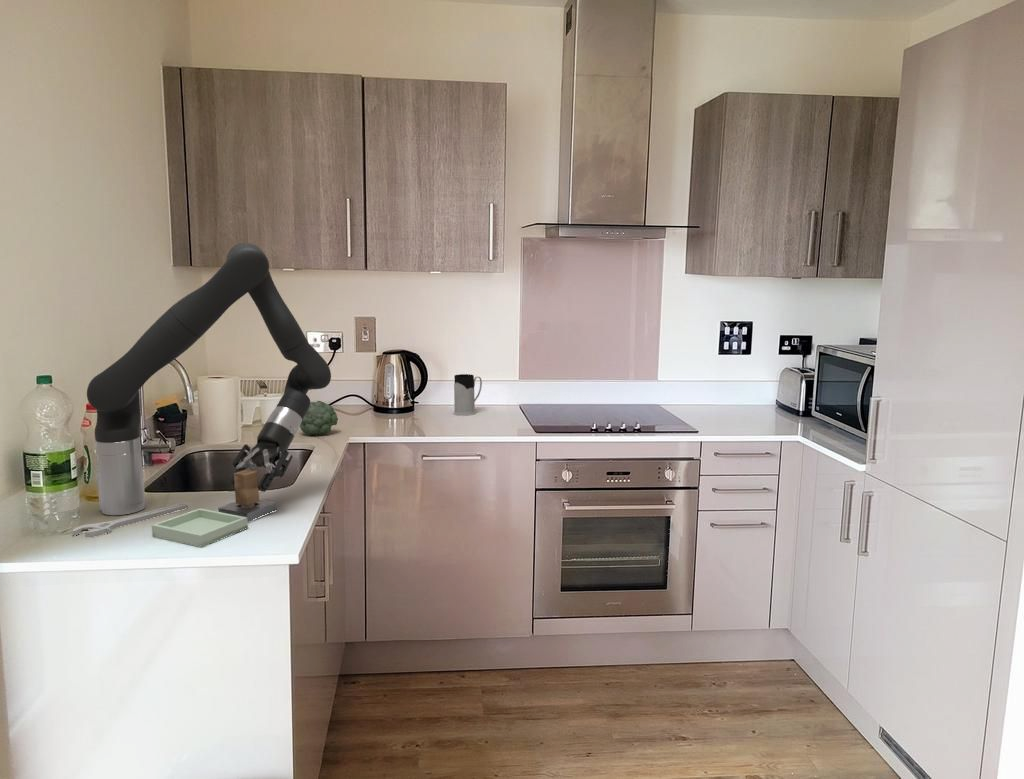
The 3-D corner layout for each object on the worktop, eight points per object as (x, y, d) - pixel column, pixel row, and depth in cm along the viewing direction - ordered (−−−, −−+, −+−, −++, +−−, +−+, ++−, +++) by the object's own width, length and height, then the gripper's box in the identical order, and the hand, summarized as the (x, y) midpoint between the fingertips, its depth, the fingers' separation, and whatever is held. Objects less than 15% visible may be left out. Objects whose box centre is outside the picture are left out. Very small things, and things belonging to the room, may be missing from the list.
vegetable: (348, 422, 267) (338, 411, 253) (323, 450, 264) (312, 440, 250) (323, 401, 269) (313, 389, 255) (298, 428, 266) (286, 417, 252)
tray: (152, 536, 160) (151, 525, 160) (200, 518, 171) (199, 508, 171) (201, 547, 154) (200, 535, 153) (248, 528, 165) (247, 517, 164)
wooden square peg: (236, 515, 174) (233, 473, 172) (248, 511, 177) (245, 469, 175) (248, 517, 172) (245, 475, 171) (259, 513, 175) (257, 471, 174)
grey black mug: (448, 413, 294) (448, 375, 292) (473, 408, 305) (473, 371, 302) (465, 416, 289) (464, 377, 286) (489, 411, 299) (489, 373, 297)
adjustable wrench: (184, 508, 181) (183, 501, 181) (197, 513, 177) (196, 506, 177) (70, 535, 162) (69, 527, 162) (82, 542, 158) (81, 534, 158)
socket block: (218, 517, 173) (218, 507, 172) (248, 506, 180) (248, 497, 180) (247, 522, 169) (247, 513, 168) (277, 511, 176) (276, 502, 176)
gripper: (249, 418, 182) (214, 475, 174) (294, 423, 176) (260, 483, 168) (266, 435, 188) (234, 491, 180) (311, 440, 182) (279, 499, 173)
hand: (247, 487), depth 174 cm, fingers open, 8 cm apart
